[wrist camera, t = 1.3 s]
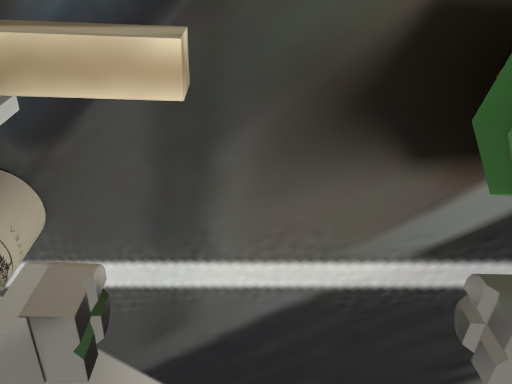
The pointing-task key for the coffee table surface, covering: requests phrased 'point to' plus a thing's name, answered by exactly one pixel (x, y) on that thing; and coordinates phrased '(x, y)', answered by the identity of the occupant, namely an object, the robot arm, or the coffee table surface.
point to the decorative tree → (497, 133)
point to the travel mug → (17, 223)
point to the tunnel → (7, 107)
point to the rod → (93, 60)
